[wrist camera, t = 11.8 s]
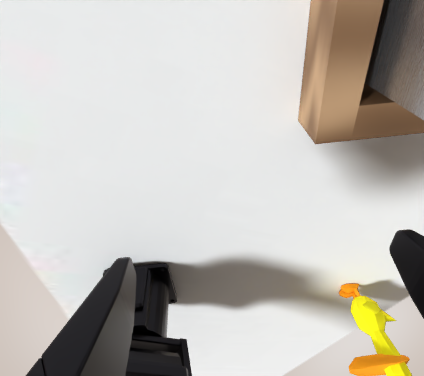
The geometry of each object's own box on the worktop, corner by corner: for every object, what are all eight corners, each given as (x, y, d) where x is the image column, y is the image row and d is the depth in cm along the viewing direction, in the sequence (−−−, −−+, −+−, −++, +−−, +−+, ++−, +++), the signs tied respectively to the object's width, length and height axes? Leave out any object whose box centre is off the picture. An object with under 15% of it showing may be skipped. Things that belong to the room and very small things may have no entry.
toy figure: (316, 300, 35) (364, 423, 25) (320, 282, 33) (374, 410, 23) (372, 293, 35) (441, 415, 25) (379, 275, 33) (458, 401, 23)
